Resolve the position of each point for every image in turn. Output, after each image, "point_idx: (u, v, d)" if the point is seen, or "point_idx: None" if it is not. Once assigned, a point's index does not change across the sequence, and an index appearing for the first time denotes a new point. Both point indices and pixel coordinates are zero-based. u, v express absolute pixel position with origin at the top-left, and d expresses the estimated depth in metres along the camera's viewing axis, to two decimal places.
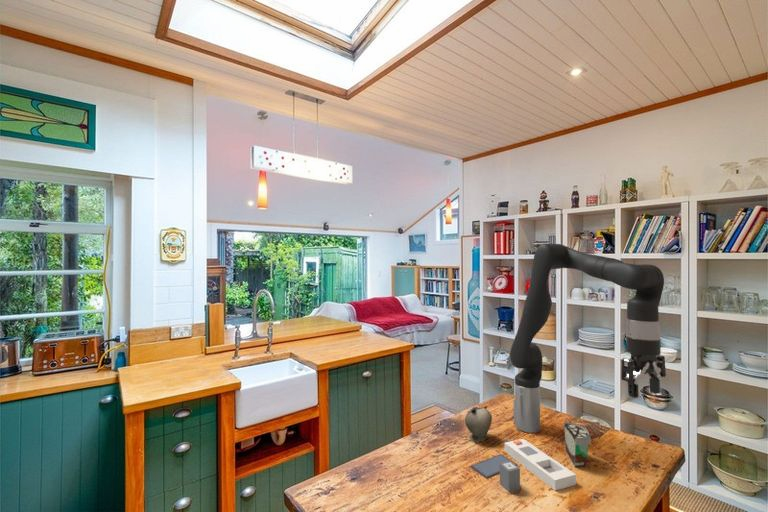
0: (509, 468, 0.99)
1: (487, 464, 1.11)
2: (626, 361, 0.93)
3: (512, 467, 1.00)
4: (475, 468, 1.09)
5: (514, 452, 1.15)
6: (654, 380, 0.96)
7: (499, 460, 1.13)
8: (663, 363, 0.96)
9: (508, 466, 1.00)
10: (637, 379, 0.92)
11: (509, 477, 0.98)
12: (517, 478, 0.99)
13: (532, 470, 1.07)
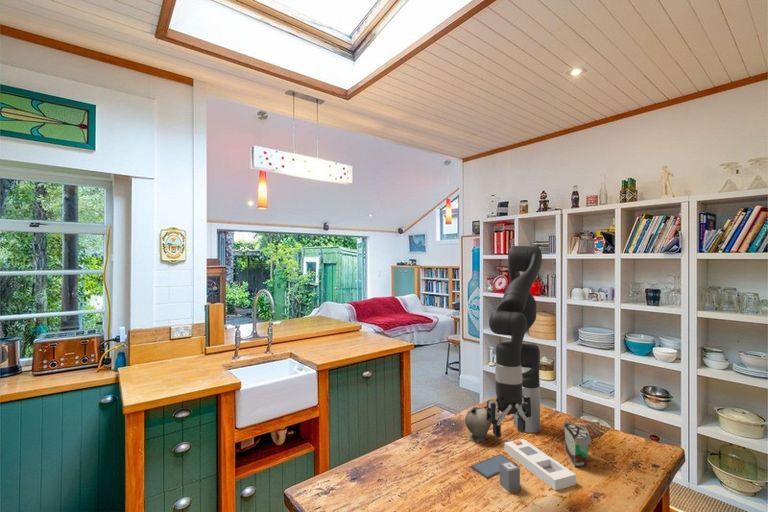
0: (509, 468, 0.99)
1: (487, 464, 1.11)
2: (489, 403, 0.99)
3: (512, 467, 1.00)
4: (475, 468, 1.09)
5: (514, 452, 1.15)
6: (520, 420, 1.02)
7: (499, 460, 1.13)
8: (528, 404, 1.02)
9: (508, 466, 1.00)
10: (500, 420, 0.99)
11: (509, 477, 0.98)
12: (517, 478, 0.99)
13: (532, 470, 1.07)
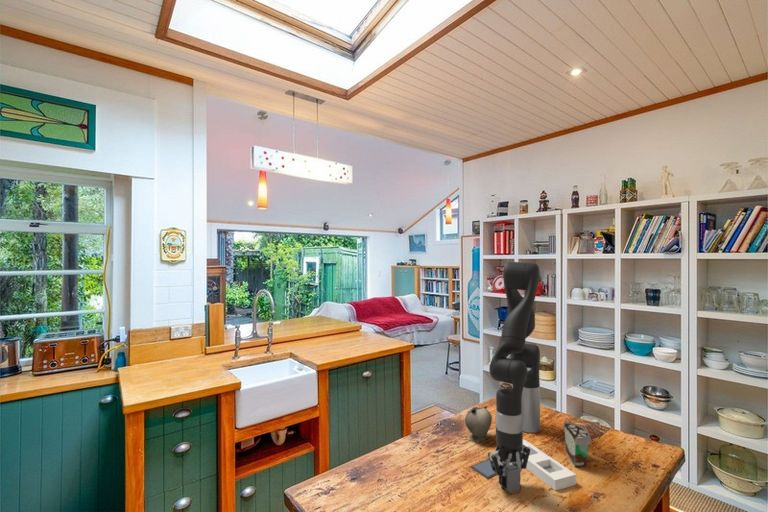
0: (509, 468, 0.99)
1: (487, 464, 1.11)
2: (490, 457, 0.99)
3: (512, 467, 1.00)
4: (475, 468, 1.09)
5: None
6: None
7: None
8: (527, 455, 1.02)
9: None
10: (505, 471, 0.99)
11: (509, 477, 0.98)
12: (517, 478, 0.99)
13: (532, 470, 1.07)
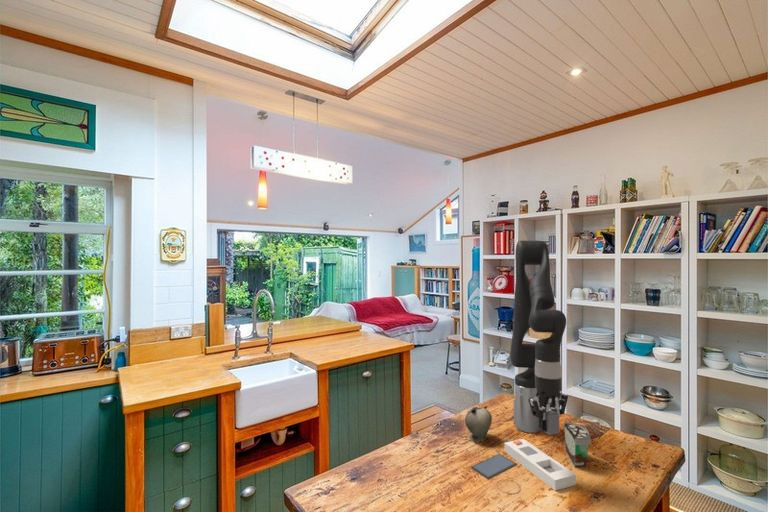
0: (549, 413, 1.05)
1: (487, 464, 1.11)
2: (531, 402, 1.04)
3: (551, 412, 1.05)
4: (476, 469, 1.09)
5: (514, 452, 1.15)
6: None
7: (498, 460, 1.13)
8: (565, 402, 1.07)
9: None
10: (545, 415, 1.04)
11: (549, 420, 1.04)
12: (557, 422, 1.04)
13: (532, 470, 1.07)
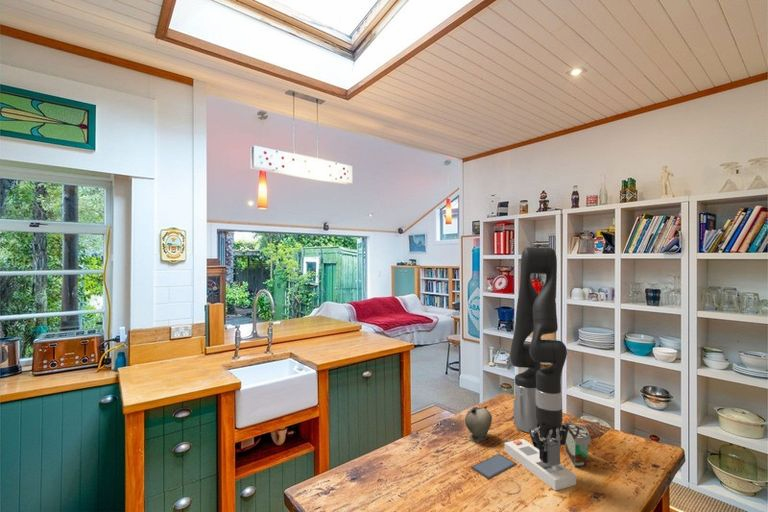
0: (550, 444, 1.04)
1: (487, 464, 1.11)
2: (532, 433, 1.04)
3: (552, 443, 1.05)
4: (476, 469, 1.09)
5: (514, 452, 1.15)
6: None
7: (498, 460, 1.13)
8: (566, 432, 1.07)
9: None
10: (545, 446, 1.04)
11: (550, 452, 1.03)
12: (557, 453, 1.04)
13: (532, 470, 1.07)
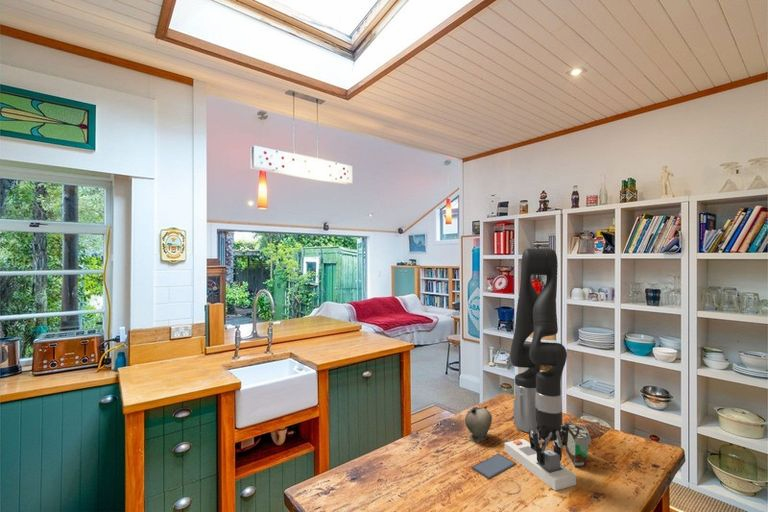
0: (550, 455, 1.04)
1: (487, 464, 1.11)
2: (531, 433, 1.04)
3: (552, 454, 1.05)
4: (476, 469, 1.09)
5: (514, 452, 1.15)
6: (557, 448, 1.07)
7: (498, 460, 1.13)
8: (566, 433, 1.07)
9: (548, 453, 1.05)
10: (543, 448, 1.04)
11: (550, 463, 1.03)
12: (557, 464, 1.04)
13: (532, 470, 1.07)
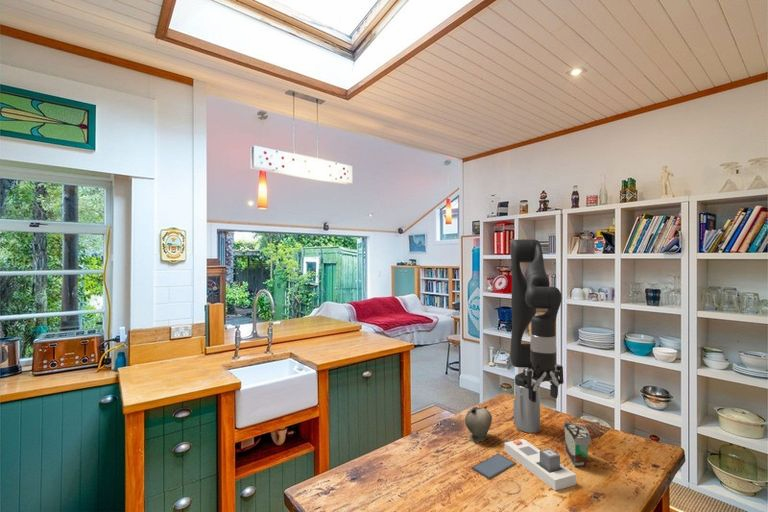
0: (550, 455, 1.04)
1: (487, 464, 1.11)
2: (526, 371, 1.07)
3: (552, 454, 1.05)
4: (476, 469, 1.08)
5: (514, 452, 1.15)
6: (553, 386, 1.10)
7: (498, 460, 1.14)
8: (561, 372, 1.10)
9: (548, 453, 1.05)
10: (535, 386, 1.07)
11: (550, 463, 1.03)
12: (557, 464, 1.04)
13: (532, 470, 1.07)
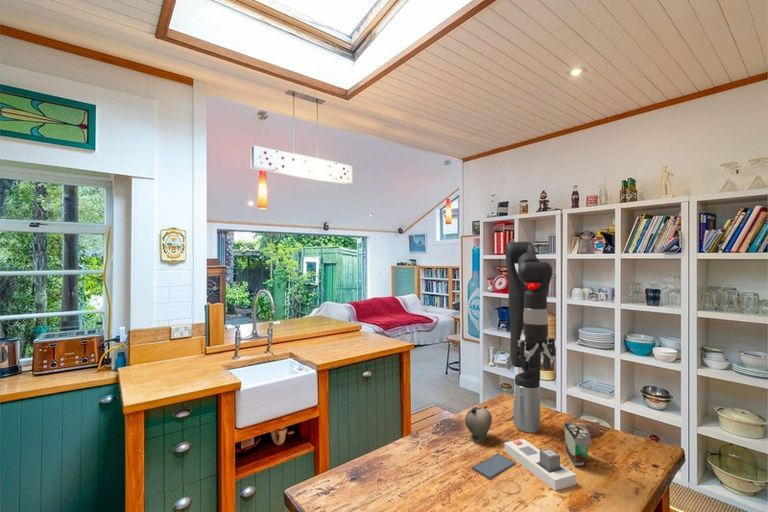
0: (550, 455, 1.04)
1: (487, 464, 1.11)
2: (519, 342, 1.11)
3: (552, 454, 1.05)
4: (477, 469, 1.08)
5: (514, 452, 1.15)
6: (546, 358, 1.15)
7: (497, 460, 1.14)
8: (553, 344, 1.15)
9: (548, 453, 1.05)
10: (528, 357, 1.11)
11: (550, 463, 1.03)
12: (557, 464, 1.04)
13: (532, 470, 1.07)
